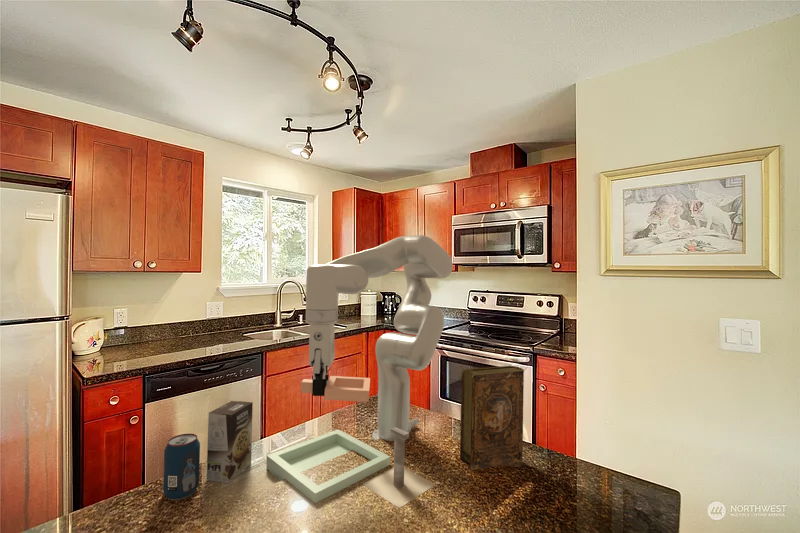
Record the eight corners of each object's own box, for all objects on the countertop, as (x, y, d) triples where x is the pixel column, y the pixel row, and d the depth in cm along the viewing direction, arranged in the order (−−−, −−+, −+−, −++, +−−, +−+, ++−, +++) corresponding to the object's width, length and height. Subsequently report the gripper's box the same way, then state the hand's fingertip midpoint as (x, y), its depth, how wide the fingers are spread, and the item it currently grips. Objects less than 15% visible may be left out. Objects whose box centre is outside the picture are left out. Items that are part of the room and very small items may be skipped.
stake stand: (398, 470, 93) (399, 416, 94) (435, 491, 85) (436, 431, 85) (361, 490, 85) (362, 430, 85) (399, 515, 77) (400, 449, 77)
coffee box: (229, 484, 86) (231, 415, 86) (205, 480, 88) (206, 412, 88) (252, 464, 95) (253, 401, 95) (230, 461, 97) (231, 399, 97)
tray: (337, 441, 109) (338, 429, 109) (389, 470, 93) (390, 456, 93) (266, 469, 93) (266, 455, 93) (314, 510, 78) (315, 493, 78)
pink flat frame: (369, 387, 94) (370, 377, 94) (368, 402, 84) (369, 391, 84) (306, 384, 93) (306, 374, 93) (297, 398, 83) (298, 387, 83)
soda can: (176, 483, 87) (177, 431, 87) (205, 484, 86) (206, 432, 86) (155, 501, 80) (157, 445, 80) (187, 502, 79) (188, 446, 79)
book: (512, 456, 102) (514, 365, 102) (525, 466, 97) (527, 370, 97) (459, 465, 97) (461, 369, 97) (470, 476, 91) (471, 375, 92)
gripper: (333, 321, 81) (332, 405, 81) (341, 312, 97) (339, 383, 97) (298, 320, 80) (297, 405, 80) (312, 312, 96) (310, 383, 96)
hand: (320, 392), depth 88 cm, fingers closed on pink flat frame, 2 cm apart
